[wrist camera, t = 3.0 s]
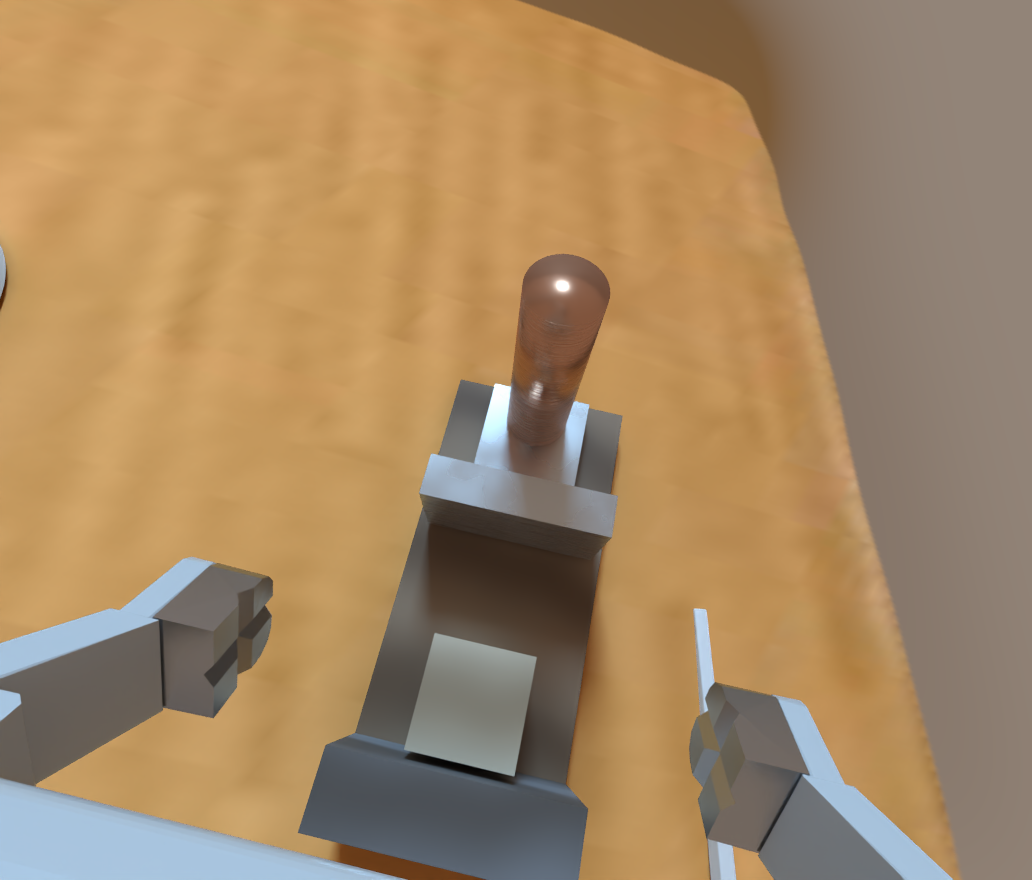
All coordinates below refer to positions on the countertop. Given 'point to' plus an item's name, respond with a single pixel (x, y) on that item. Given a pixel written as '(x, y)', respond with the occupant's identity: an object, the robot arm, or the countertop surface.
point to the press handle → (535, 427)
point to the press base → (489, 621)
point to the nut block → (472, 704)
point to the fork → (718, 852)
